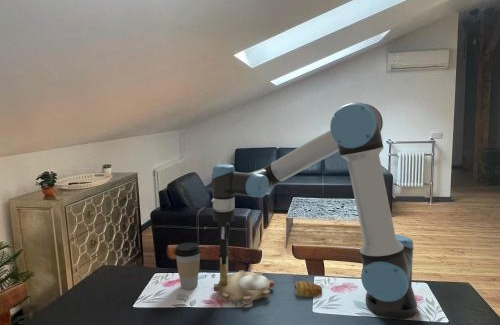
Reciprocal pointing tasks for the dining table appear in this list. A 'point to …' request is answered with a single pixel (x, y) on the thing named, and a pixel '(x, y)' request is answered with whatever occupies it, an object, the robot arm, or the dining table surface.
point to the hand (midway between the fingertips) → (224, 272)
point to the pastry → (307, 289)
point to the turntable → (242, 285)
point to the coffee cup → (188, 264)
